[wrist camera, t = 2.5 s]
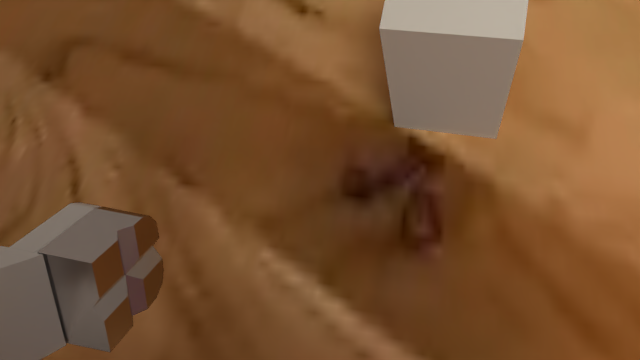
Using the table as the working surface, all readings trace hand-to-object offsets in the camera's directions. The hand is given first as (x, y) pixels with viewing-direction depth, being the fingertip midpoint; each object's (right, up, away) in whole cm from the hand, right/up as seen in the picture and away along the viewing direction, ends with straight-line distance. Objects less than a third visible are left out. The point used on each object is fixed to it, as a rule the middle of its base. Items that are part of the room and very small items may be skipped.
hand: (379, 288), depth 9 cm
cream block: (+5, +6, +17) cm, 19 cm away
